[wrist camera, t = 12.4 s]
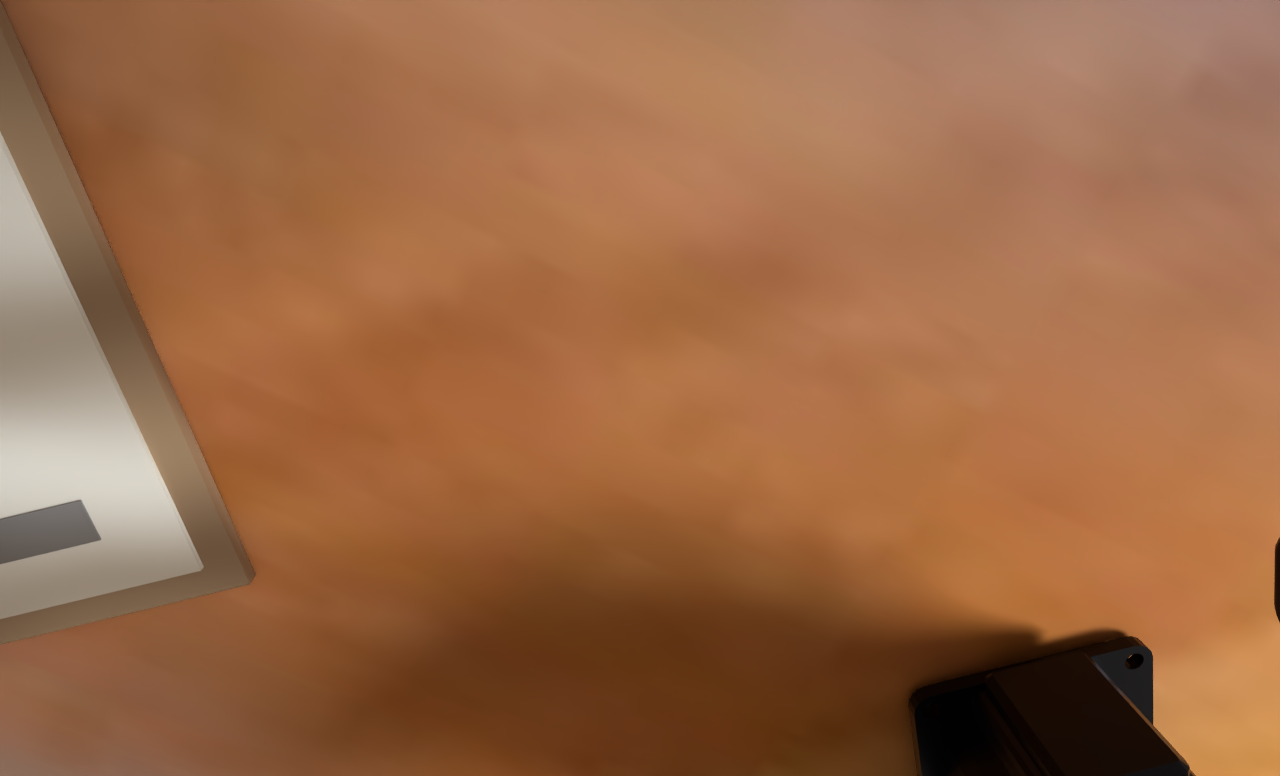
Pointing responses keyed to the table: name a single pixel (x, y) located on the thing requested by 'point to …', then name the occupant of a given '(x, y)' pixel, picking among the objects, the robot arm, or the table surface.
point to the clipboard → (86, 408)
